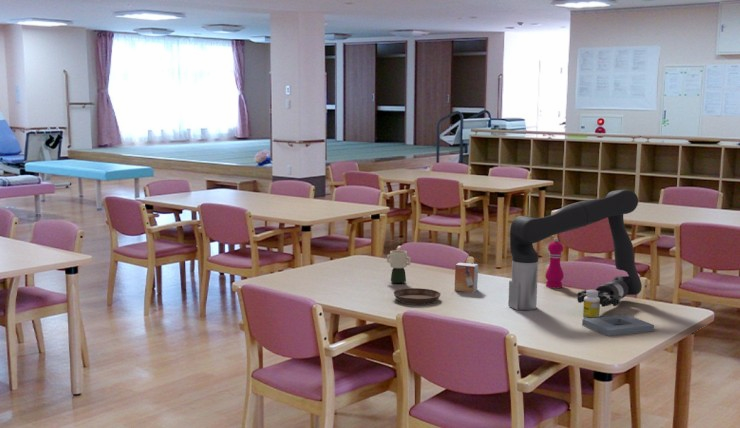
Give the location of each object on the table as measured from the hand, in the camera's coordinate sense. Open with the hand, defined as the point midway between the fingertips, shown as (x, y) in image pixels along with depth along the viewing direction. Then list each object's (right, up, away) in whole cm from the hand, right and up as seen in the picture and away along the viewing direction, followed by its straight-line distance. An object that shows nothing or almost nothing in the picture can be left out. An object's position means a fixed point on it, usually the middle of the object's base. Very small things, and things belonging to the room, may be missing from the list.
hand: (590, 301), depth 282 cm
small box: (-38, 0, +42) cm, 57 cm away
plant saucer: (-59, -3, +25) cm, 64 cm away
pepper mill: (-2, +1, +50) cm, 50 cm away
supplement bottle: (0, -6, +1) cm, 6 cm away
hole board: (+6, -8, -10) cm, 14 cm away
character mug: (-64, +2, +54) cm, 84 cm away
